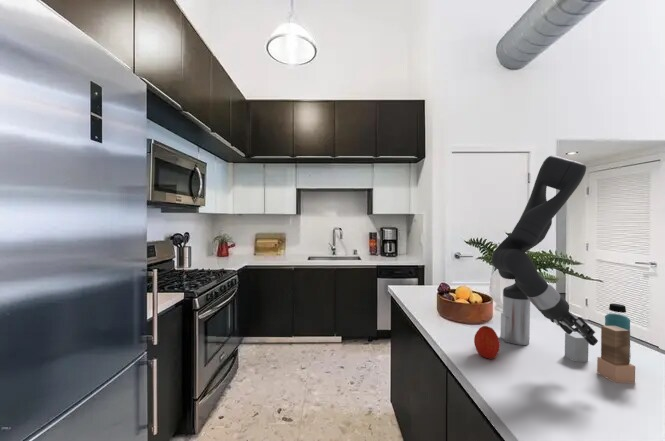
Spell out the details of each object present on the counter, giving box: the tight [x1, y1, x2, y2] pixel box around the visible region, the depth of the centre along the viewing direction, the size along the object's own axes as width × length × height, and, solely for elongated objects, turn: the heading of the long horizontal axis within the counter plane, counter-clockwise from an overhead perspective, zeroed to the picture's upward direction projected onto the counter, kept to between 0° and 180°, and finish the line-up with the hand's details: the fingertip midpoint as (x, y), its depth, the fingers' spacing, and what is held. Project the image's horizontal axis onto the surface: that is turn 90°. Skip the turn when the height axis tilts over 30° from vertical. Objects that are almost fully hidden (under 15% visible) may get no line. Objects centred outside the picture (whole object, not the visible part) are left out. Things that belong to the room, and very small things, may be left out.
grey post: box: [564, 332, 590, 363], centre depth 107 cm, size 4×4×8 cm
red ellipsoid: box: [473, 325, 501, 360], centre depth 107 cm, size 8×8×11 cm
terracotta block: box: [596, 356, 636, 384], centre depth 94 cm, size 6×6×5 cm
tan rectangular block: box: [600, 325, 631, 365], centre depth 94 cm, size 4×4×10 cm
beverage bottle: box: [604, 303, 632, 364], centre depth 102 cm, size 6×7×20 cm
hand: (582, 337), depth 94 cm, fingers open, 8 cm apart
